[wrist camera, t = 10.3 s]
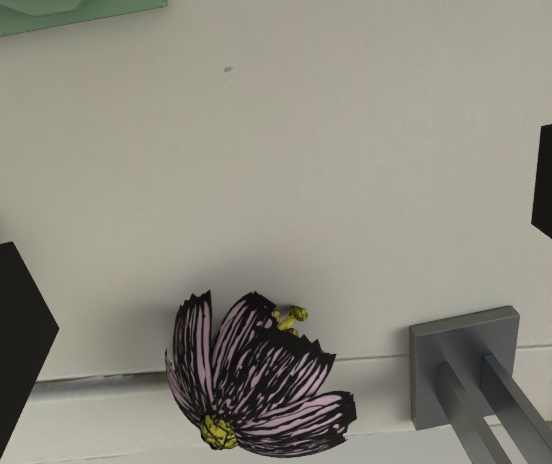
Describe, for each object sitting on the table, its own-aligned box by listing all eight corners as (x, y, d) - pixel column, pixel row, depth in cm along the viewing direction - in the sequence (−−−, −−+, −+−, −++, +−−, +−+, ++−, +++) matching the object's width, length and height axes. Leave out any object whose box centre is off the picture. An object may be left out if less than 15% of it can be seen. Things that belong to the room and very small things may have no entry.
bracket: (409, 326, 39) (505, 494, 26) (511, 305, 39) (657, 462, 26) (411, 419, 45) (490, 595, 32) (500, 401, 45) (615, 568, 32)
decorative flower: (91, 371, 25) (369, 427, 23) (168, 227, 33) (377, 259, 31) (139, 468, 35) (335, 512, 33) (189, 339, 43) (348, 369, 41)
